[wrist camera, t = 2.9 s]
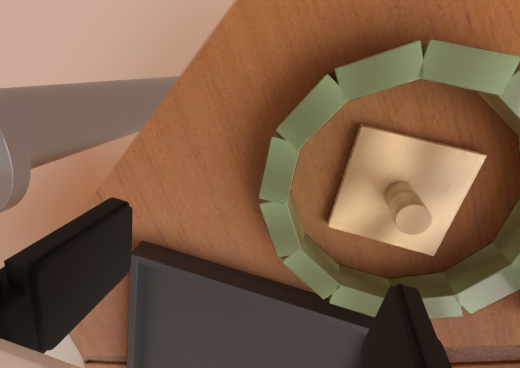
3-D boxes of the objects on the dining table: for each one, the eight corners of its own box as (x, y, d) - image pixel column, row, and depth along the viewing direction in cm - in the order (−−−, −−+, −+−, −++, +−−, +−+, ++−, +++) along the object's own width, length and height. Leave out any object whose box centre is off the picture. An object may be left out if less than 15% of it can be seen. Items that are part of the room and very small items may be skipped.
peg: (327, 222, 24) (327, 255, 20) (360, 123, 21) (368, 138, 16) (430, 250, 23) (453, 292, 19) (481, 152, 20) (523, 175, 16)
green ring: (249, 257, 27) (241, 276, 24) (302, 19, 19) (298, 12, 17) (471, 324, 24) (487, 352, 22) (631, 84, 17) (680, 87, 14)
